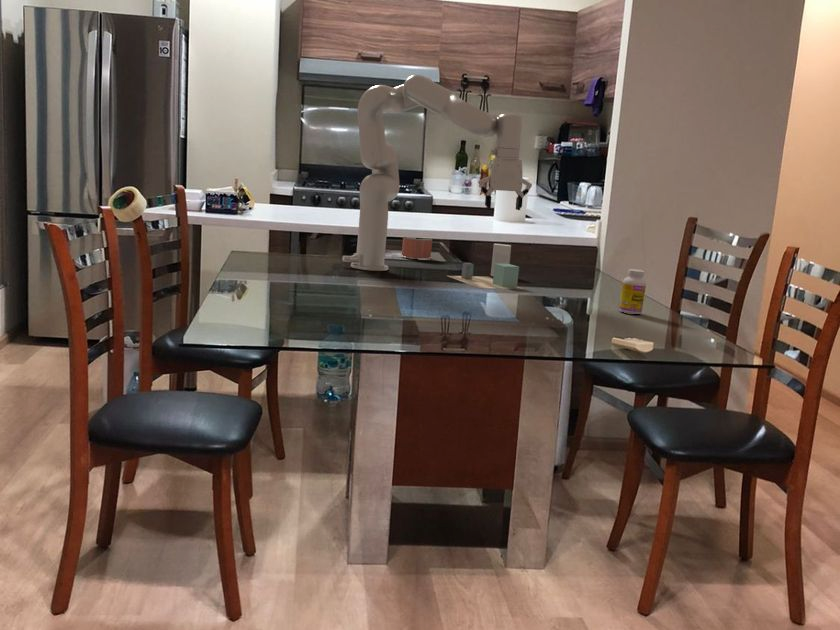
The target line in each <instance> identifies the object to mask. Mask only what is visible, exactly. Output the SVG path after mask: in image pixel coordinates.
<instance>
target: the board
mask: <svg viewBox="0 0 840 630" xmlns="http://www.w3.org/2000/svg"><path fill="white" fill-rule="evenodd" d="M461 276H462V275H447V277H448V278H451V279H455V280H456V281H459V282H463V283H464V284H468V285H471V286H473V287H476V288H479V289H492V290H493V289H498V290H499V289H502V290H503V289H504V290H506V289H509V290H510V289H511V290H523V289H524V288H522V287H520V286H517V287H500V286H497V285H494V284H493V278H492V277H490V276H482V275H481V276H477V275H476V276H474V275H473V277H472V279H463V278H461Z"/></svg>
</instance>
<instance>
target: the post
mask: <svg viewBox="0 0 840 630" xmlns="http://www.w3.org/2000/svg"><path fill="white" fill-rule="evenodd" d="M474 266H475V264H474V263H471V262H462V269H461V275H460V276H461V278H463V279H472V277H473V276H474Z"/></svg>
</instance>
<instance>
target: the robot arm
mask: <svg viewBox="0 0 840 630" xmlns="http://www.w3.org/2000/svg"><path fill="white" fill-rule="evenodd" d="M418 107H423V108H425V109H427V110H428V111H430V112H432V113H434V114H436V115H437V116H439V117H441V118H442V119H444V120H446V121H448V122H451V123H452V124H455V126H458V127H459V128H461V129H464V131H465V130H466V131H467V132H469V133H470V134H473V135H475V136H477V137H484V138H493V137H495V138H496V139H495V140H496V142H495V148H494V149H491V150H490V154H491V155H494V157H492V161H491V165H490V169H489V175H488V176H486V177H484V178H482V179H480V180H478V181H477V184H478V186H479V188H480V190H481V192H482V193H483V194H484V197H485V199H484V205H485V207H486V209H489V210H490V209H491V208H492V196H491V195H492V193H494V191H503V192H515V194H516V195H517V196H516V198H515V199H516V201H515V210H516V211H521V209H522V208H523V200H524V199H523V198H524V197H525V196H526V195H527V194H528V193H529V192H530V189H531V188H532V186H533V184H532V183H531V182H529V181H528V180H526V179H524V178H523V160H522V159H520V151H521V150H520V149H521V138H522V125H523V124H522V123H523V119H522V116H521V115H519V114H514V113H501V114H496V113H495V114H494V113H490V112H487V111H484V110H482V109H480V108H477V107H476V106H474V105H472V104H470V103H469V102H466V101H465V100H463V99H462V98H460V97H459V95H458V94H456V92H455V91H452V90H450V89H448V88H446V87H444V86H442V85H440V84H438V83H437V82H435V81H433V80H432V79H431V78H429V77H426V76H424V75H421V74H412V75H410V76H408V77H407V78H406V79H405V81H404V83H403V84H401V85H398V86H394V87H392V86H389V85H386V84H378V85H377V84H376V85H374V86H371V87H370V88H368V89H367V90H365V92H364V93H363V94H362V95H361V97H360V99H359V101H358V105H357V123H358V138H359V140H358V141H359V149H360V161H361V163H362V165H363V166H364V167H365V168H366V169H368V170H371V174H369V175H366V176H365V177H364V178H363V180H362V181H361V184H360V185H359V221H358V230H357V231H358V232H357V245H356V252H355V253H354V252H353V254H352V255H342V257H341V258H342V259H341V260H342V261H343V262H348V263H351V264H350V267H351V268H352V269H356V270H362V271H371V272H372V271H373V272H383V271H385V272H386V271H388V270H389V266H388V265H387V264H385V259H386V258H385V256H386V246H387V234H388V222H389V205H388V203H389V202H392V201H393V200H394V199H395V198H396V197H397V196H398V194H399V192H400V172H399V163H398V162H399V161H398V154H397V150H396V149H395V147H394V146H393V145H392V144H391V143H389V142H387V141H386V140H387V139H386V131H385V130H386V129H385V124H384V118H383V114H384V113H385V114H394V115H395V114H398V113H402V112H406V111H409V110H411V109H415V108H418ZM485 183H488V188H486V187H485V185H484V184H485ZM523 185H524V186H525V188H524V189H523ZM522 189H523V190H522Z"/></svg>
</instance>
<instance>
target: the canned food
mask: <svg viewBox="0 0 840 630" xmlns="http://www.w3.org/2000/svg"><path fill="white" fill-rule="evenodd" d="M432 245H433V238H432V239H416V238H402V246H401V247H402V249H401V256H402V255H403V256H406V257H413V258H429V257H431V256H432Z"/></svg>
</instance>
